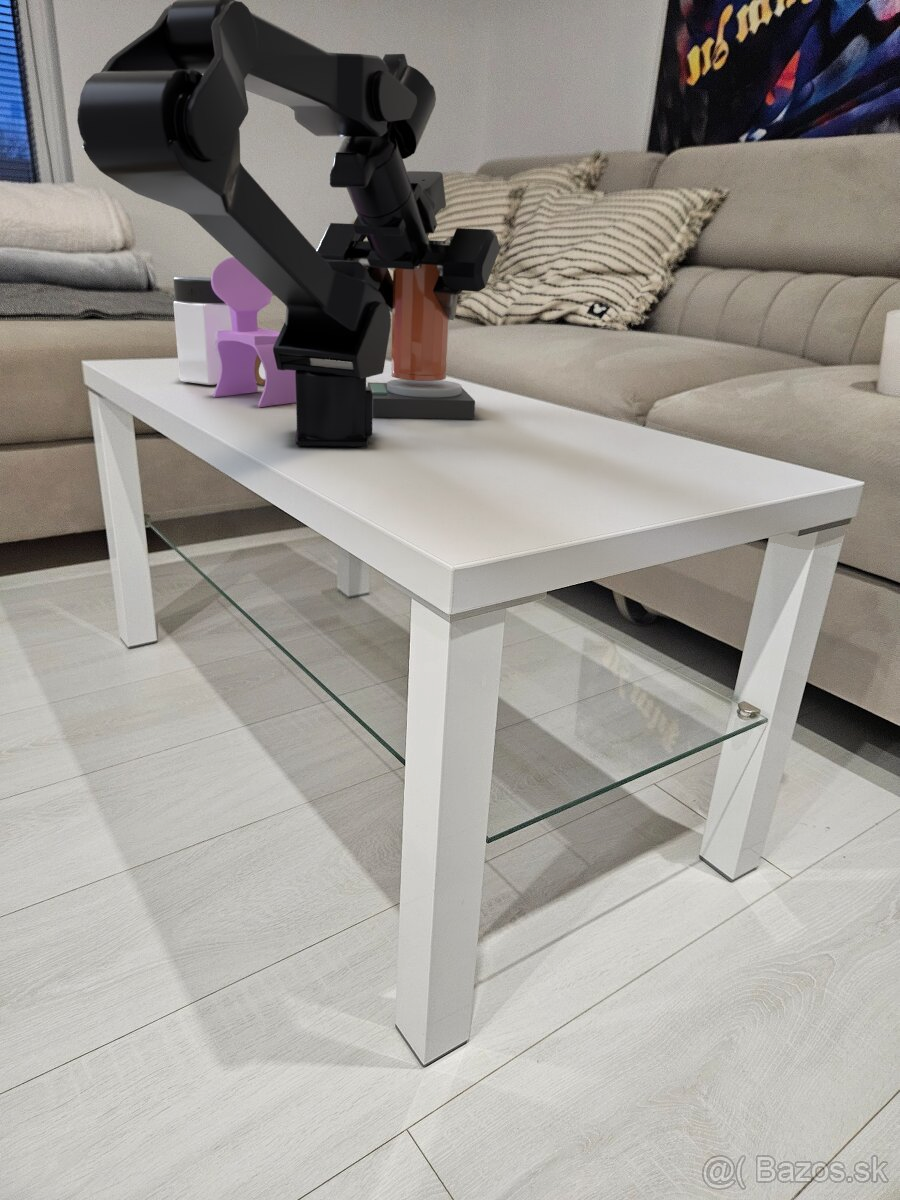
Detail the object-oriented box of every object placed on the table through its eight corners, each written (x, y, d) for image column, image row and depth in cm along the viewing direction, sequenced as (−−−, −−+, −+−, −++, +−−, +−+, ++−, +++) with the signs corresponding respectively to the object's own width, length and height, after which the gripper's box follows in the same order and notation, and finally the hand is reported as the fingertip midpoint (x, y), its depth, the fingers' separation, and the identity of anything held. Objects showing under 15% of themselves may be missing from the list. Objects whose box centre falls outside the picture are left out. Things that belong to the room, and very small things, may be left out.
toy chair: (255, 409, 89) (248, 259, 83) (205, 397, 94) (195, 255, 88) (312, 401, 95) (309, 261, 89) (262, 390, 100) (257, 257, 94)
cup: (443, 382, 89) (449, 252, 84) (387, 378, 90) (390, 249, 85) (448, 375, 95) (453, 253, 90) (395, 371, 95) (398, 250, 90)
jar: (191, 386, 100) (183, 280, 95) (169, 376, 106) (160, 276, 101) (261, 382, 104) (256, 281, 100) (236, 373, 110) (230, 277, 106)
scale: (372, 417, 88) (373, 390, 87) (367, 399, 98) (367, 375, 97) (474, 419, 90) (475, 393, 89) (458, 401, 100) (459, 377, 99)
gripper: (500, 135, 77) (526, 264, 91) (326, 135, 83) (375, 255, 97) (464, 223, 73) (497, 343, 87) (285, 216, 79) (342, 329, 93)
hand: (426, 314), depth 91 cm, fingers closed on cup, 6 cm apart
